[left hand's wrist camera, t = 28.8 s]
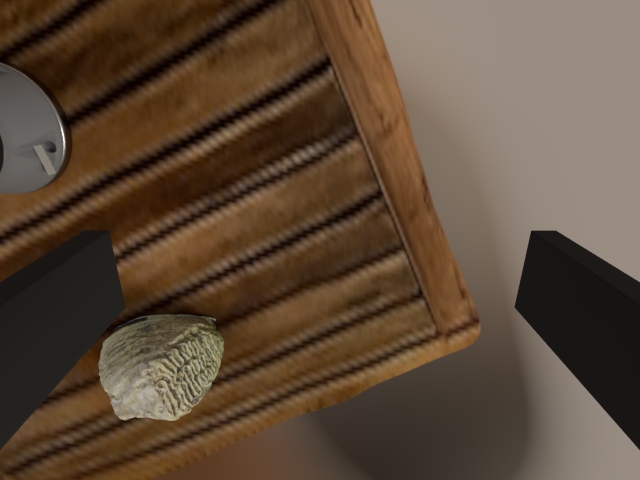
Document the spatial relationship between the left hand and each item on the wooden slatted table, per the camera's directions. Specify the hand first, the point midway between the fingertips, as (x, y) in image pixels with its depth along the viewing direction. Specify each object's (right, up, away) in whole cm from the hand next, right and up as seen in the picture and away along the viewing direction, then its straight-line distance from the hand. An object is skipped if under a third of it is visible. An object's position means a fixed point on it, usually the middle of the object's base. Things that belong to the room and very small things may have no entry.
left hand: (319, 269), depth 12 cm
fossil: (-22, -13, +46) cm, 52 cm away
